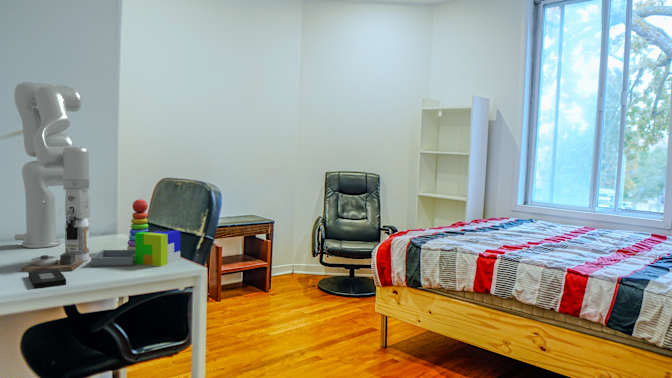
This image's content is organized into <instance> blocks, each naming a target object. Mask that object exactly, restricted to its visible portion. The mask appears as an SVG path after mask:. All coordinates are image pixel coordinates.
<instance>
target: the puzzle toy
mask: <svg viewBox="0 0 672 378" xmlns="http://www.w3.org/2000/svg"><path fill="white" fill-rule="evenodd" d="M180 261H181V231H180V230H172V229H171V230H170V229H161V228H154V229H148V231H144V232H139V233H135V264H137V265H138V264H139V265H147V266H154V267H164V266H167V265H170V264H172V263H176V262H180Z"/></svg>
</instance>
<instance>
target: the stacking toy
mask: <svg viewBox="0 0 672 378" xmlns="http://www.w3.org/2000/svg"><path fill="white" fill-rule="evenodd" d="M132 209H133V211H134V212H133V213H132V219H131V221H130V222H131V224H130V230H129V236H128V239H129V240H128V241H127V245H128V246H127V247H126V250H135V233H139V232H144V231H148V230H149V224H148V219H147V217H148V214H147V212H146V211H147V210H148V203H147V201H145V200H144V199H142V198H141V199H136V200H135V201H133V203H132Z"/></svg>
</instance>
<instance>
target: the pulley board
mask: <svg viewBox="0 0 672 378" xmlns="http://www.w3.org/2000/svg"><path fill="white" fill-rule="evenodd" d="M83 263H84V262H83V260H75V253H70V251H69V247H66V253H65V252H63V253H61V254H60V255H59V259H58V256H53V255H48V254H47V255H41V256H37V257H34V258H31V259H30V263H27V264H26V265H24V266H22V267H21V269H20V270H21V272H28V273H29V272H31V271H41V270H50V269H59V270H60V272H73V271H75V270H76V269H77V268H79V267H80V266H81V265H83Z"/></svg>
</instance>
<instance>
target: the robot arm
mask: <svg viewBox="0 0 672 378" xmlns="http://www.w3.org/2000/svg"><path fill="white" fill-rule="evenodd" d="M13 96H14V104H15V106H16V110H17V112H18V115H19V117H20V119H21V122H22V135H23V145H24V151H25V153H26V155H27V156H28V157H32V158H36V160H31V161H28V162H26V163H24V165H23V166H22V169H21V175H22V176H21V177H22V180H23V185H24V193H25V196H24V197H25V223H26V225H25V227H26V228H25V230H26V232H25V233H23V234H21V233H20V234H17V233H16V234H15V235H14V239H15V240H16V241H23V242H21V247H23V248H27V249H28V248H29V249H39V248H41V249H42V248H50V247H55V246H60V245H61V240H60V239H57V238H56V237H57V232H56V228H57V227H56V221H57V220H56V198H55V195H54V194H53V192H52V191H51V190H50V189H49V188H48V187H60V186H61V187H63V190H64V191H65V201H64V211H65V212H64V215H65V223H66V235H67V240H77V239H78V227H76V226H77V222H78V219H79V220H80V221H82V220H84V219H86V218H87V219H88V218H90V217H91V206H90V194H89V190H90V153H89V152H90V151H89V150H88V148H86V147H82V146H80V147H79V146H74V145H73V140H72V138H71V137H70V135H68V134H67V133H65V132H64V131H65V130H68V128H69V127H70V126H71V119H70V116H69V113H68V112H72V113H73V112H74V113H75V112H78V111H80V109H81V107H82V98H81V97H82V96H81V95H80V93H79V91H78V90H77V89H75V88H73V87H70V86H66V85H60V84H50V83H41V82H29V81H28V82H27V81H26V82H25V81H24V82H21V83H18V84H16V86H15V88H14V94H13ZM73 212H74V213H73ZM73 221H74V222H73Z"/></svg>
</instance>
